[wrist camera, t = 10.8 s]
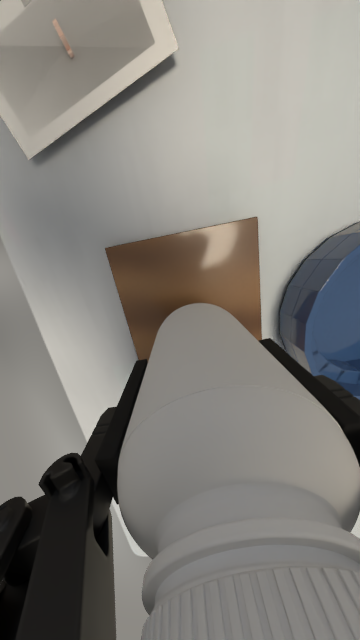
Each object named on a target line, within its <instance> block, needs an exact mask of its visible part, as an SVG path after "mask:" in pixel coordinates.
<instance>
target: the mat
mask: <svg viewBox="0 0 360 640" xmlns="http://www.w3.org/2000/svg"><path fill="white" fill-rule="evenodd" d="M105 251H106V254H107V257H108V260H109V264H110V267H111V270H112V274H113V277H114V280H115V283H116V287H117V290H118V293H119V297H120V300H121V303H122V307H123V310H124V313H125V316H126V320H127V323H128V326H129V330H130V333H131V336H132V339H133V343H134V346H135V349H136V353H137V356H138V359H139V360H143V359H147V362H148V361H149V358H150V355H151V352H152V348H153V345H154V342H155V339H156V335H157V333H158V330H159V328H160V326H161V325H162V323H163V322H164V320H165V319H166V318H167V317H168V316H169V315H170V314H171V313H172V312H174V311H175V310H177V309H179V308H181V307H183V306H186V305H189V304H194V303H207V304H212V305H216V306H218V307H220V308H222V309H224V310H226V311H227V312H229V313H230V314H231V315H233V316H234V317H235V318H236V319H237V320H238V321H239V322H240V323H241V324H242V325H243V326H244V327H245V328H246V329H247V330H248V331H249V332H250V333H251V334H252V335H253V336H254V337H255V338H256V339H257V340H258V341H259V340H262V334H261V305H260V276H259V247H258V219H257V217H253V218H248V219H244V220H239V221H234V222H229V223H224V224H219V225H214V226H210V227H205V228H200V229H195V230H190V231H185V232H180V233H176V234H171V235H166V236H161V237H156V238H151V239H146V240H142V241H137V242H132V243H127V244H122V245H117V246H112V247H108V248H105Z"/></svg>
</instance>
